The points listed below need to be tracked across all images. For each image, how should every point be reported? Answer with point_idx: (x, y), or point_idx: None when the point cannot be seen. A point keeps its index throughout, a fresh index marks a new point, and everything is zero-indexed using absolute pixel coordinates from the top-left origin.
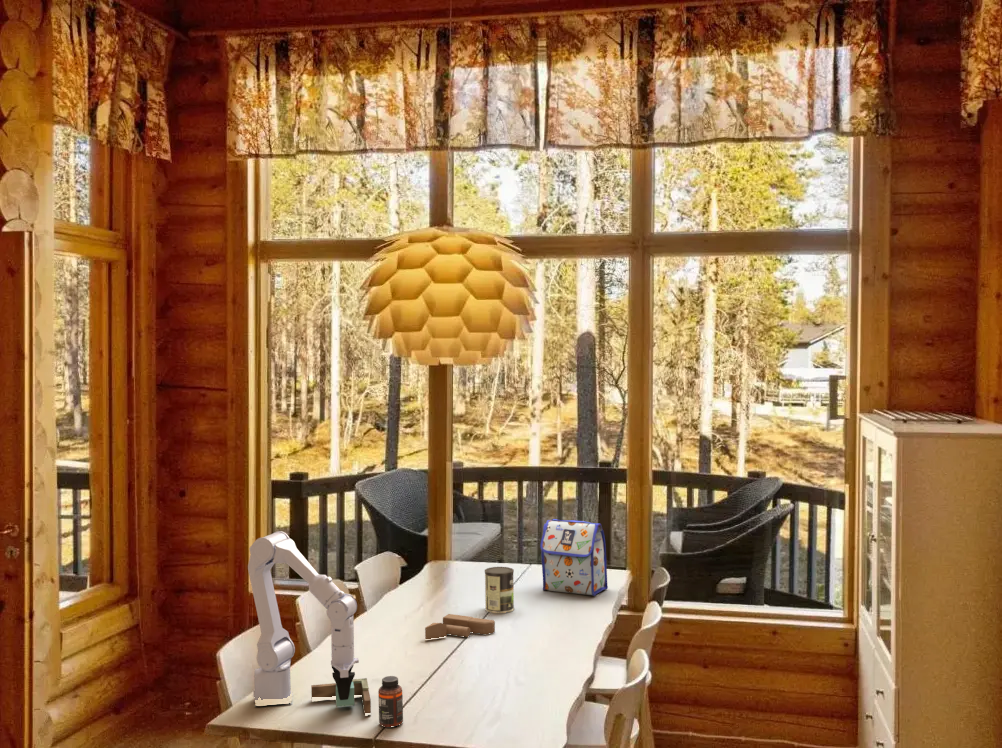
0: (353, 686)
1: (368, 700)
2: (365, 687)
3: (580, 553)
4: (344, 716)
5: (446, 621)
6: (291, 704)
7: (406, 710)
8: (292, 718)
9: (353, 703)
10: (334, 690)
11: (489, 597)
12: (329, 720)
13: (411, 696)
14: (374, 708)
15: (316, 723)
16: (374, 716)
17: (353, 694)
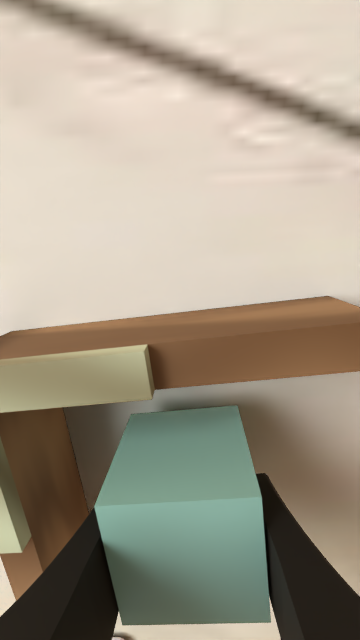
0: (220, 503)
1: None
2: (136, 378)
3: None
4: (299, 433)
5: None
6: (119, 633)
7: (285, 40)
8: (272, 626)
9: (240, 417)
10: (58, 533)
11: None
12: (333, 496)
13: (22, 8)
14: (213, 278)
15: (354, 545)
16: (339, 273)
17: (249, 458)
